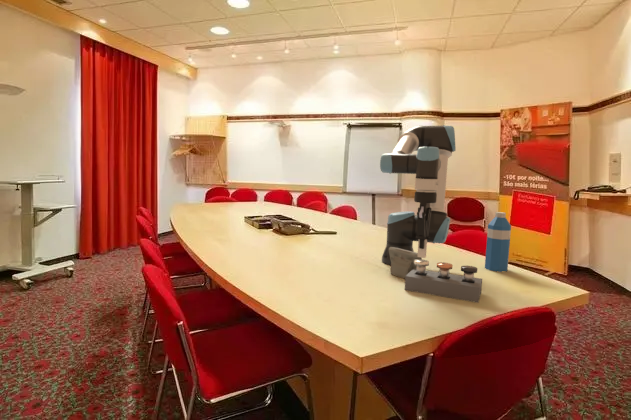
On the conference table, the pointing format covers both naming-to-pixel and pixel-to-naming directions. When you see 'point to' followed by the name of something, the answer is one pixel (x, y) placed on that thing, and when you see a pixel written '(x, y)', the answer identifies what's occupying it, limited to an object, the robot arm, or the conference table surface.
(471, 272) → the plunger black
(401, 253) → the digital clock
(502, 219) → the water bottle
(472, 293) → the panel
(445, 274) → the plunger terracotta
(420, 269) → the plunger ivory
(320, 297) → the conference table surface
